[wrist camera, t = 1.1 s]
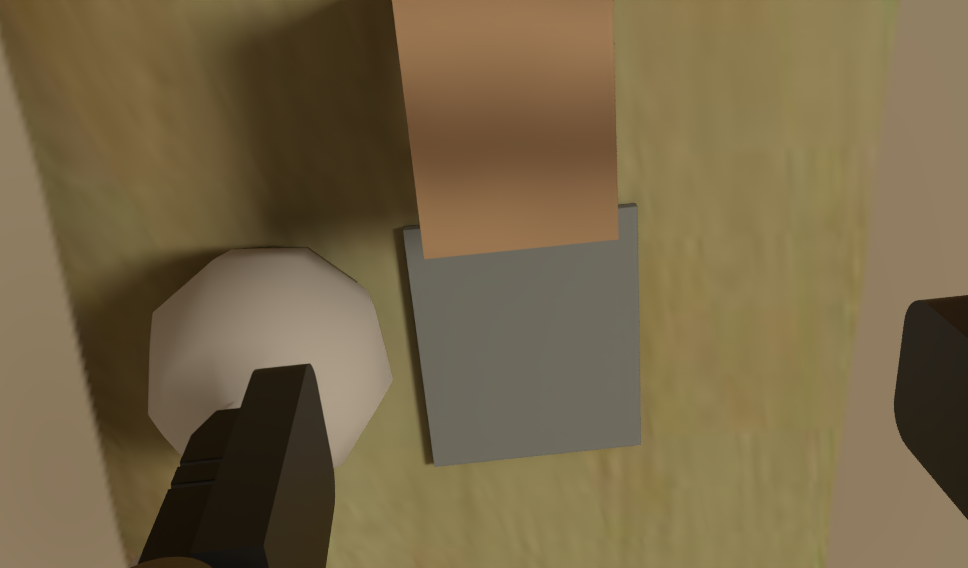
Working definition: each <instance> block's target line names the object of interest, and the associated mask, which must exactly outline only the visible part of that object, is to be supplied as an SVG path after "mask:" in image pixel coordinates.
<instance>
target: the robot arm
mask: <svg viewBox="0 0 968 568" xmlns="http://www.w3.org/2000/svg"><path fill="white" fill-rule="evenodd" d="M894 412H895V419H896V424H897V427H898V430H899V433H900V436H901V438H902V440H903V442H904V443H905V445H906V446H907V447H908V449H909V450H910V451H911V452H912V454H913V455H914V456H915V457H916V458H917V460H918V461H919V462H920V463H921V464H922V466H923V467H924V468H925V469H926V470H927V472H928V473H929V474H930V475H931V476H932V478H933V479H934V480H935V481H936V482H937V484H938V485H939V486H940V487H941V488H942V490H943V491H944V492H945V493H946V494H947V495H948V497H949V498H950V499H951V500H952V501H953V502H954V504H955V505H956V506H957V507H958V509H959V510H960V511H961V512H962V513H963V515H964V516H965V517H966V518H967V519H968V295H964V296H954V297H945V298H936V299H927V300H918V301H915V302H913V303H912V304H911V305H910V306H909V308H908V310H907V312H906V315H905V321H904V327H903V335H902V343H901V351H900V358H899V367H898V374H897V382H896V389H895V397H894ZM334 505H335V479H334V468H333V461H332V456H331V450H330V445H329V440H328V435H327V430H326V425H325V420H324V415H323V410H322V404H321V399H320V394H319V389H318V384H317V379H316V375H315V372H314V369H313V367H312V365H311V364H310V363H308V364H299V365H289V366H280V367H270V368H261V369H255V370H254V371H253V372H252V375H251V378H250V380H249V383H248V386H247V389H246V392H245V395H244V398H243V401H242V404H241V406H240V408H233V409H224V410H216V411H215V412H214V413H213V414H212V415H211V416H210V417H209V418H208V419H207V420H206V421H205V422H204V423H203V424H202V425H201V426H200V427H199V428H198V429H197V430H196V431H195V432H194V433H193V434H192V435H191V436H190V439H189V441H188V444H187V446H186V448H185V451H184V453H183V456H182V458H181V460H180V467H178V468H177V470H176V472H175V475H174V477H173V480H172V482H171V489H168V492H167V494H166V496H165V499H164V501H163V504H162V506H161V508H160V511H159V513H158V516H157V518H156V520H155V523H154V525H153V528H152V530H151V532H150V535H149V537H148V540H147V542H146V544H145V547H144V549H143V552H142V554H141V556H140V559H139V561H138V564H137V565H135V566H133V567H130V568H326V561H327V554H328V547H329V540H330V533H331V526H332V520H333V513H334Z"/></svg>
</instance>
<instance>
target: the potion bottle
mask: <svg viewBox="0 0 968 568" xmlns="http://www.w3.org/2000/svg"><path fill="white" fill-rule="evenodd" d="M308 363H310V364H311V365H312V367H313V369H314V372H315V375H316V379H317V384H318V389H319V394H320V399H321V404H322V410H323V415H324V420H325V425H326V430H327V435H328V440H329V445H330V450H331V456H332V461H333V468H336V467H338V466H340V465H342V464H343V463H344V461H345V460H346V458H347V456H348V455H349V453H350V451H351V450H352V448H353V446H354V445H355V443H356V441H357V440H358V438H359V437H360V435H361V433H362V432H363V430H364V428H365V427H366V425H367V423H368V422H369V420H370V419H371V417H372V415H373V414H374V412H375V410H376V409H377V407H378V405H379V404H380V402H381V400H382V398H383V397H384V395H385V393H386V391H387V390H388V388H389V386H390V384H391V383H392V381H393V378H392V374H391V370H390V366H389V362H388V358H387V354H386V351H385V347H384V343H383V339H382V335H381V331H380V327H379V323H378V319H377V315H376V311H375V307H374V305H373V303H372V301H371V298H370V296H369V294H368V292H367V290H366V289H365V288H363V287H362V286H361V285H359V284H358V283H357V281H355V280H354V279H352V278H351V277H350V276H348V275H347V274H345V273H344V272H342V271H341V270H340V269H338V268H337V267H335V266H334V265H332V264H331V263H330V262H328V261H327V260H325V259H324V258H322V257H321V256H320V255H318V254H317V253H315V252H314V251H312V250H311V249H310V248H308V247H276V248H244V249H231V250H229V251H228V252H226V253H224V254H222V255H220V256H219V257H217V258H215V259H213V260H212V261H211V262H210V263H209V264H208V265H206V266H205V267H204V268H203V269H202V270H201V271H200V272H198V273H197V274H196V275H195V276H194V277H193V278H192V279H190V280H189V281H188V282H187V283H186V284H185V285H184V286H182V287H181V288H180V289H179V290H178V291H177V292H176V293H174V294H173V295H172V296H171V297H170V298H169V299H168V300H167V301H165V302H164V303H163V304H162V305H161V306H160V307H159V308H157V309H156V310H155V311H154V312H153V313H152V325H151V337H150V355H149V392H148V415H149V417H150V418H151V420H152V421H153V422H154V424H155V425H156V427H157V428H158V429H159V431H160V432H161V434H162V435H163V436H164V437H165V438H166V440H167V441H168V442H169V443H170V444H171V445H172V446H173V447H174V448H175V450H176V451H177V452H178V453H179V454H180V455H181V456H183V453H184V451H185V448H186V446H187V444H188V441H189V439H190V436H191V435H192V434H193V433H194V432H195V431H196V430H197V429H198V428H199V427H200V426H201V425H202V424H203V423H204V422H205V421H206V420H207V419H208V418H209V417H210V416H211V415H212V414H213V413H214V412H215V411H216V410H224V409H233V408H240V406H241V404H242V401H243V398H244V395H245V392H246V389H247V386H248V383H249V380H250V378H251V375H252V372H253V371H254V370H255V369H261V368H270V367H280V366H289V365H299V364H308ZM140 556H141V554H140V555H139V556H138V557H137V558H135V560H134V561H133V562H132V564H131V565H130V567H133V566H135V565H137V564H138V561H139V559H140ZM130 567H129V568H130Z"/></svg>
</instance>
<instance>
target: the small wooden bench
mask: <svg viewBox="0 0 968 568" xmlns="http://www.w3.org/2000/svg"><path fill="white" fill-rule="evenodd" d="M392 5H393V13H394V21H395V29H396V37H397V45H398V53H399V61H400V69H401V77H402V85H403V93H404V101H405V109H406V117H407V125H408V133H409V141H410V149H411V157H412V165H413V173H414V181H415V189H416V197H417V205H418V213H419V221H420V229H421V237H422V245H423V253H424V259H432V258H442V257H452V256H462V255H471V254H481V253H491V252H501V251H510V250H520V249H530V248H539V247H549V246H559V245H569V244H578V243H588V242H598V241H608V240H617V239H619V231H618V189H617V148H616V107H615V65H614V24H613V0H392Z"/></svg>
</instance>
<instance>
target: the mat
mask: <svg viewBox="0 0 968 568" xmlns="http://www.w3.org/2000/svg"><path fill="white" fill-rule="evenodd" d="M618 231H619V239H617V240H608V241H598V242H588V243H578V244H569V245H559V246H549V247H539V248H530V249H520V250H510V251H501V252H491V253H481V254H471V255H462V256H452V257H442V258H432V259H424V253H423V245H422V237H421V229H420V225H415V226H405V227H403V235H404V242H405V250H406V257H407V265H408V272H409V280H410V287H411V295H412V302H413V310H414V317H415V325H416V332H417V340H418V347H419V355H420V362H421V369H422V377H423V384H424V392H425V399H426V407H427V414H428V422H429V429H430V437H431V444H432V452H433V459H434V467H438V466H447V465H457V464H466V463H475V462H485V461H494V460H503V459H513V458H522V457H531V456H541V455H550V454H559V453H569V452H578V451H587V450H597V449H606V448H616V447H625V446H634V445H641V418H640V348H639V278H638V208H637V205H636V203H631V204H621V205H618Z"/></svg>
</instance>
